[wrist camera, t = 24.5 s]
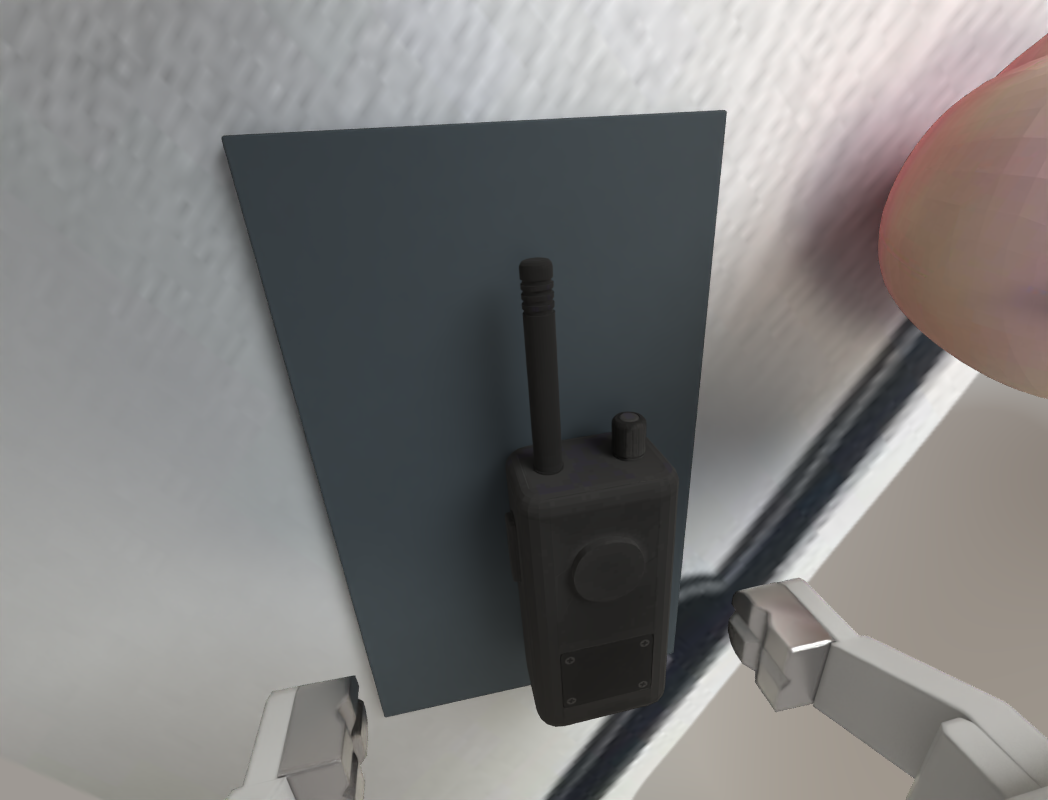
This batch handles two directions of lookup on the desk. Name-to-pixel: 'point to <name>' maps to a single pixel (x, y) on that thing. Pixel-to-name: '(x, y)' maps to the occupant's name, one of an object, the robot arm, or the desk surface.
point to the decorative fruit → (979, 228)
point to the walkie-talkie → (587, 542)
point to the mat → (474, 346)
